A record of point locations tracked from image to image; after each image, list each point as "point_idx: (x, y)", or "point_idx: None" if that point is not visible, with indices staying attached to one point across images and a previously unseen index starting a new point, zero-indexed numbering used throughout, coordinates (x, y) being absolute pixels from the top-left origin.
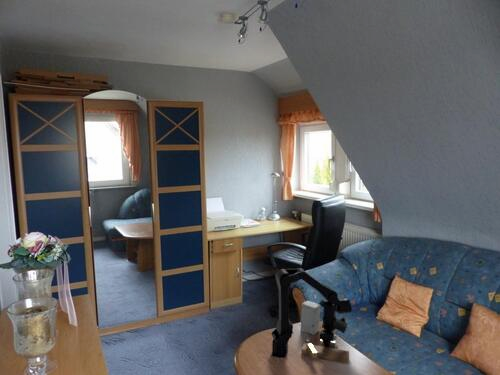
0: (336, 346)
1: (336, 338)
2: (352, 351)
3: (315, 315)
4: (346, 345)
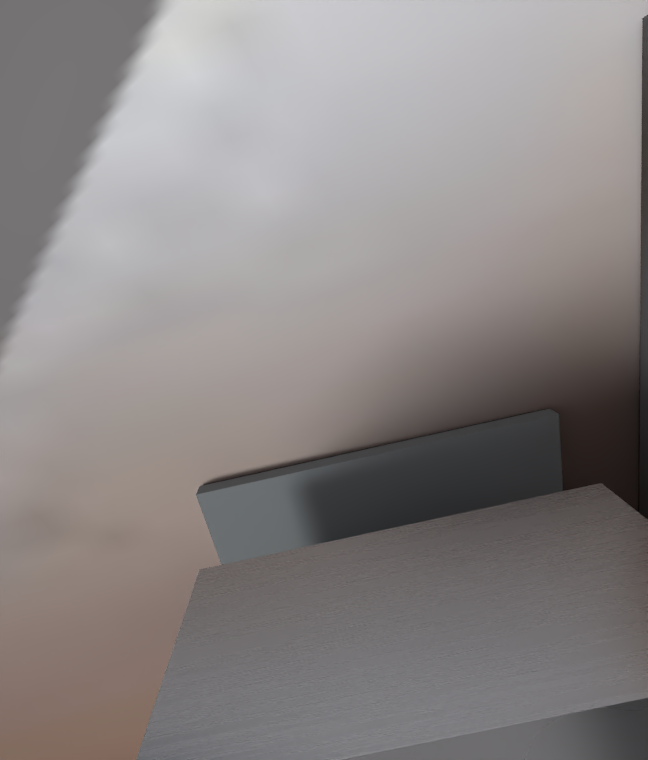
0: (286, 488)
1: (179, 684)
2: (253, 10)
3: None
4: (44, 292)
